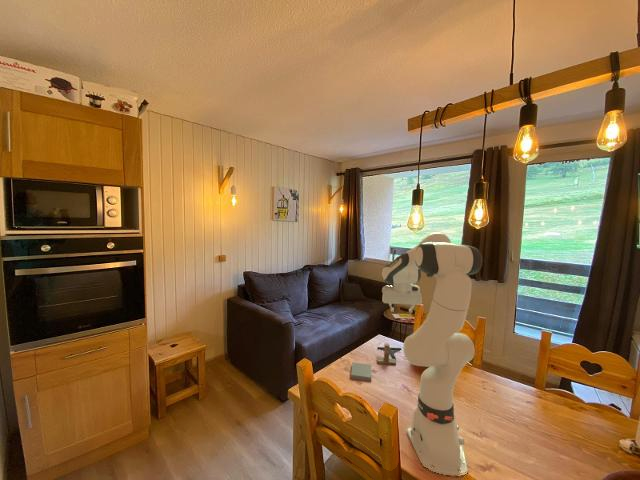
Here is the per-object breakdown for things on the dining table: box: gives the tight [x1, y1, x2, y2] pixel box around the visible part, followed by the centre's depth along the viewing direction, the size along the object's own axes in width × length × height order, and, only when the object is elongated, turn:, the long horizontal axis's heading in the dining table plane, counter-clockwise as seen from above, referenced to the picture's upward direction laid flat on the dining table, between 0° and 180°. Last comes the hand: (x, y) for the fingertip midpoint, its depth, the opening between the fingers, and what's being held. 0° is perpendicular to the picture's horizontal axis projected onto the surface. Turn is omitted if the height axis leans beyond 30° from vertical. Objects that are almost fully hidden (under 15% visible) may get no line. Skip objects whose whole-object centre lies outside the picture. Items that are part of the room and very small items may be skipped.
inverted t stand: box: [376, 342, 397, 366], centre depth 148 cm, size 4×10×10 cm, turn 82°
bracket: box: [377, 346, 402, 362], centre depth 157 cm, size 14×15×3 cm
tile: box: [350, 362, 372, 382], centre depth 137 cm, size 2×10×12 cm
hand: (401, 311), depth 140 cm, fingers open, 8 cm apart
